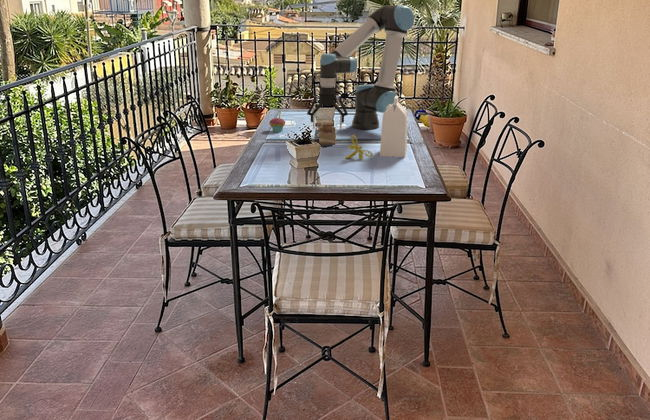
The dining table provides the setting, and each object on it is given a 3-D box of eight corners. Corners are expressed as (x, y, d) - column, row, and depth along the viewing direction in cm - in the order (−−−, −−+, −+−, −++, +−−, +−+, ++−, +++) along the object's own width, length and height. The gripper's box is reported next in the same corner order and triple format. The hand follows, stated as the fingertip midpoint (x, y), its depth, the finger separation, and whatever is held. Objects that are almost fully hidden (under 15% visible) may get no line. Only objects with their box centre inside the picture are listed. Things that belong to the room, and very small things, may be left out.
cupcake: (286, 129, 313) (286, 107, 308) (284, 133, 305) (283, 110, 301) (271, 129, 313) (270, 107, 309) (268, 132, 306) (267, 110, 301)
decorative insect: (359, 168, 262) (373, 154, 257) (357, 170, 259) (372, 156, 255) (338, 148, 262) (353, 133, 257) (336, 150, 259) (351, 135, 254)
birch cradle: (319, 136, 299) (319, 126, 297) (335, 136, 299) (335, 126, 297) (319, 144, 283) (319, 134, 281) (335, 144, 283) (335, 134, 281)
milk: (404, 157, 262) (408, 99, 253) (379, 155, 264) (382, 98, 255) (406, 150, 273) (410, 95, 264) (382, 149, 275) (384, 94, 266)
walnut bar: (323, 129, 295) (323, 121, 294) (331, 129, 295) (332, 121, 294) (322, 132, 285) (322, 124, 284) (332, 132, 285) (332, 124, 284)
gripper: (302, 87, 280) (302, 130, 288) (353, 87, 280) (352, 130, 287) (302, 84, 287) (302, 126, 295) (352, 85, 287) (351, 127, 294)
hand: (327, 128), depth 291 cm, fingers open, 13 cm apart
